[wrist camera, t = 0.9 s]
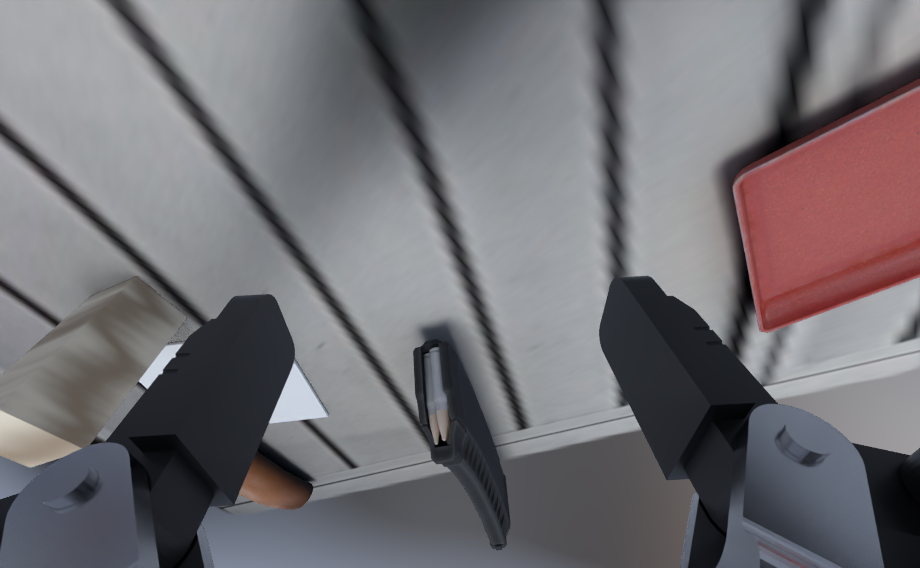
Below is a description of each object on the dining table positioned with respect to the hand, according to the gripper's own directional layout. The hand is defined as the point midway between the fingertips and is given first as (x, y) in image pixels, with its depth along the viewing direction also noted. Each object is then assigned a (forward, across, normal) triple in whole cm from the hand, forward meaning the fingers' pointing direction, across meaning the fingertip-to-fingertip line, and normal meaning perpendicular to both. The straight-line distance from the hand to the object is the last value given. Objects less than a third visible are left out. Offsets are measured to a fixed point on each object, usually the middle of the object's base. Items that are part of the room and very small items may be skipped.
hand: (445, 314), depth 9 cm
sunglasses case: (+20, +27, +39) cm, 52 cm away
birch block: (+19, +26, +13) cm, 35 cm away
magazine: (+20, -1, +32) cm, 38 cm away
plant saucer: (+19, -31, +6) cm, 37 cm away
